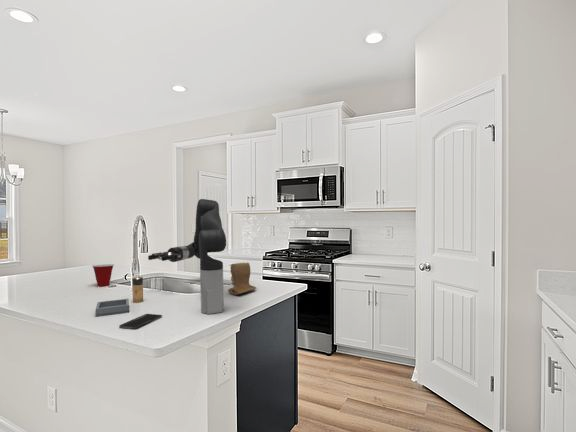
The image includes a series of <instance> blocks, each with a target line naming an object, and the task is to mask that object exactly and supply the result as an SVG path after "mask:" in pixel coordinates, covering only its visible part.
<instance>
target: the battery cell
mask: <svg viewBox="0 0 576 432" xmlns="http://www.w3.org/2000/svg"><path fill="white" fill-rule="evenodd" d="M131 280H132V284H131V285H132V302H133V304H136V303H137V304H138V303H144V277H143V276H140V275H136V276H133V277H132V279H131Z"/></svg>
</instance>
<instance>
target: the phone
mask: <svg viewBox="0 0 576 432" xmlns="http://www.w3.org/2000/svg"><path fill="white" fill-rule="evenodd" d="M162 317H163V315H162V314H156V313H155V314H154V313H145V314H142V315H140V316H138V317H136V318H133V319H130V320H129V321H126V322H124V323H121V324H120V325H119V327H118V328H119V329H122V330H124V329H125V330H132V331H133V330H135V331H136V330H139V329H141V328H143V327H146V326H147V325H149V324H151V323H154V322H156V321H158V320H160V319H162Z"/></svg>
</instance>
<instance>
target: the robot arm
mask: <svg viewBox="0 0 576 432" xmlns="http://www.w3.org/2000/svg"><path fill="white" fill-rule="evenodd" d="M219 205H220V204H219V201H217V200H213V199H206V198H200V199H199V200H198V202H197V204H196V211H195V212H196V213H195V232H194V234H193V242H191V243H190V244H188V245H183V246H182V245H181V246H175V247H170V248H168V250H167V251H162V252H161V251H159V252H155V253H151V254H149V255H148V257H147V259H148V261H152V260H159V261H160V260H161V261H162V262H166V261H169V262H172V263H177V262H180V261H185V260H187V259H191V258H193V257H194V256H195V257H196V258H197V259H199V279H200V281H199V283H200V284H199V285H200V286H199V287H200V312H201V313H202V314H207V315H210V314H212V315H213V314H218V313H223V312H224V310H225V309H224V308H225V306H224V305H225V304H224V303H225V298H224V262H223V261H222V260H219V259H216V258H212V257H211V256H210V255H208V253H209V254H210V253H221V252H224V251H225V249H226V247H227V237H226V233H225V230H224V228H223V223H222V219H221V216H220V206H219Z"/></svg>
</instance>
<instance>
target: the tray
mask: <svg viewBox="0 0 576 432" xmlns="http://www.w3.org/2000/svg"><path fill="white" fill-rule="evenodd" d="M128 313H130V299H129V298H123V299H122V298H121V299H113V300H104V301H97V303H96V307H95V317H96V318H97V317H104V316H113V315H119V314H128Z"/></svg>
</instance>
